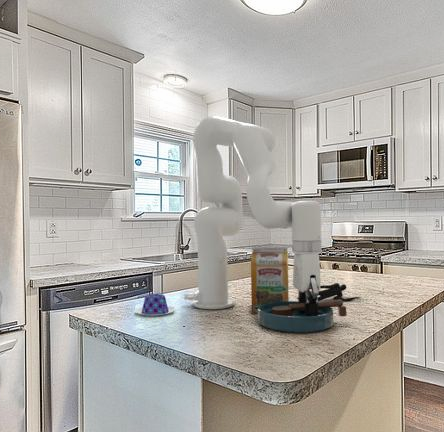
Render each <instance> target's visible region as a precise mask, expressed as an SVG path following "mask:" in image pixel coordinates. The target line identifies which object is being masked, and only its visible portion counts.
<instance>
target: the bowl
mask: <svg viewBox="0 0 444 432" xmlns="http://www.w3.org/2000/svg"><path fill="white" fill-rule="evenodd" d="M290 304H298V300H289V301H279V302H270V303H266V304H262V305H260V306H259V307H258V313H257V322H258V323H259V325H261V326H263V327H265V328H267V329H270V330H273V331H278V332H283V333H295V334H296V333H297V334H301V333H303V334H306V333H315V332H321V331H324V330H326V329H329V328H331V327H333V325H334V310H333V307H330V308H319V309H318V315H317V316H306V317H305V314H300V313H299V311H292V313H293V316H281V315H274V314H272V308H273V307H276V306H289V305H290Z"/></svg>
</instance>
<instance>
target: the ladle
mask: <svg viewBox="0 0 444 432" xmlns="http://www.w3.org/2000/svg"><path fill="white" fill-rule="evenodd" d="M319 308H337V310H338V311H337V312H338V317H341V318H342V317H347V315H348V314H347V306H345V305H344V301H342V300H334V299H331V300H321V301H319V302H318V309H319ZM299 310H305V303H298V304H290V305H289V306H276V307H273V308H272V314H274V315H281V316H293V313H292V311H299Z"/></svg>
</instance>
